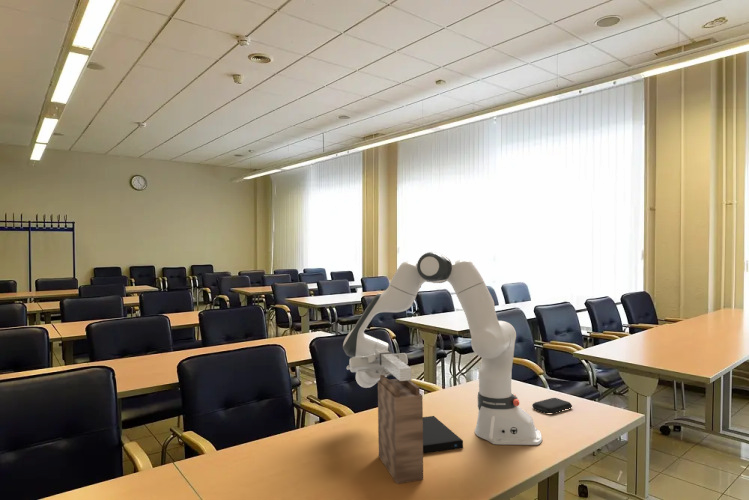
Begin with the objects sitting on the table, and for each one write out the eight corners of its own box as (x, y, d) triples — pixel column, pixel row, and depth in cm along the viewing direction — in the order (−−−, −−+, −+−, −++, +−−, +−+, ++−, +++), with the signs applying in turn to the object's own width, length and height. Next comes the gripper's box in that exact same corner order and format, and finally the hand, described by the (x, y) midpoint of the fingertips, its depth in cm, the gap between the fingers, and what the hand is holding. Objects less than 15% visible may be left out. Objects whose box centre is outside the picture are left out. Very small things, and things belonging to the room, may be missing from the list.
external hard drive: (434, 423, 177) (434, 415, 177) (463, 449, 154) (463, 440, 154) (398, 428, 173) (398, 420, 173) (422, 455, 150) (422, 445, 150)
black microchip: (552, 402, 199) (528, 408, 192) (552, 395, 199) (528, 401, 192) (574, 409, 190) (549, 416, 182) (574, 402, 190) (549, 409, 182)
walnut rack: (378, 456, 149) (377, 374, 149) (402, 452, 151) (401, 372, 151) (396, 483, 132) (395, 391, 132) (423, 479, 134) (422, 388, 134)
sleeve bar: (374, 360, 160) (374, 349, 160) (385, 359, 161) (385, 348, 161) (399, 381, 135) (399, 368, 135) (411, 380, 136) (411, 367, 136)
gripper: (344, 360, 166) (351, 348, 155) (399, 356, 172) (410, 344, 160) (346, 378, 163) (354, 367, 152) (402, 373, 169) (413, 362, 157)
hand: (383, 355), depth 156 cm, fingers closed on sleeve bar, 3 cm apart
